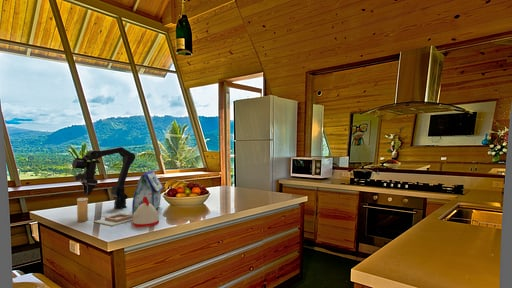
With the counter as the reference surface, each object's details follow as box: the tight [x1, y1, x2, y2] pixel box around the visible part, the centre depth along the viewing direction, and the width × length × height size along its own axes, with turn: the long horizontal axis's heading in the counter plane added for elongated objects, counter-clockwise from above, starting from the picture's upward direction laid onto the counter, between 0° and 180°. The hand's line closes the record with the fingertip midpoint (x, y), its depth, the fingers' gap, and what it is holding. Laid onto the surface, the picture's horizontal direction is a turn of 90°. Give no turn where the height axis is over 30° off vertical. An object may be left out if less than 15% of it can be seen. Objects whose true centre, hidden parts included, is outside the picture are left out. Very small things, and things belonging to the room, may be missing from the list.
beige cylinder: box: [76, 197, 89, 223], centre depth 167 cm, size 6×6×13 cm
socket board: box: [94, 213, 133, 227], centre depth 168 cm, size 20×16×2 cm
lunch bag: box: [131, 170, 164, 215], centre depth 192 cm, size 22×17×26 cm
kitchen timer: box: [132, 197, 160, 228], centre depth 162 cm, size 14×14×15 cm
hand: (86, 194), depth 181 cm, fingers open, 9 cm apart
